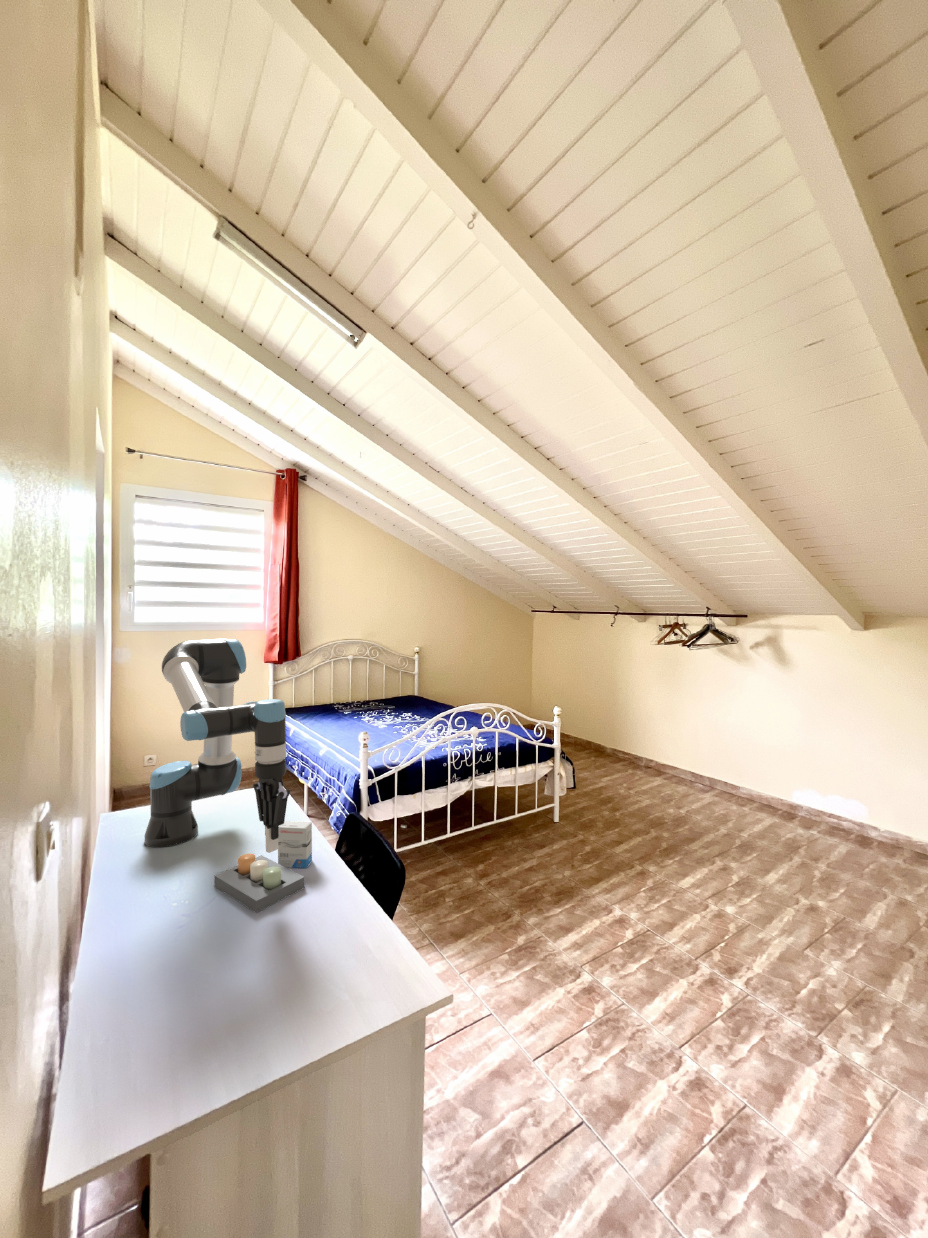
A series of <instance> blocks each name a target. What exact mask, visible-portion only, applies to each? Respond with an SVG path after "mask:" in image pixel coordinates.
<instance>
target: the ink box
mask: <svg viewBox="0 0 928 1238" xmlns="http://www.w3.org/2000/svg"><path fill="white" fill-rule="evenodd" d="M312 827H313V822H312V821H291V820H290V821H289V820H284V824H282V825H279V832H278V833H279V837H278V849H277V863H278V864H280V865H282V866H284V867H286V868H288V869H290V868H291V869H307V868H308V867H309V865H310V864H311V863H312V861H313V834H312V833H313V832H312V831H313V828H312Z"/></svg>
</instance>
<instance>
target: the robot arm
mask: <svg viewBox="0 0 928 1238" xmlns="http://www.w3.org/2000/svg"><path fill="white" fill-rule="evenodd" d="M246 669H247V657H246V652H245V650H244V647H243V644H242V643H241V642H240V641H239V640H238V639H235V638H214V639H213V638H212V639H196V640H195V639H191V640H186V641H182V642H180V643H179V642H178V643H177V644H176V645H174V646H173V647H171V649H170V650H168V651H167V653H166V654H165V655H164V657H163V660H162V663H161V672H162V675H163V677H164V679H165V680H166V682H168V683H170V684H171V686H172V687H173V690H174V692H175V695H176V697H177V700H178V701H179V704H180V706H181V709H182V710H183V713H181V716H180V723H179V724H180V726H179V727H180V732H181V737H182V738H183V740H184V741H187V742H191V741H203V752H202V753H201V754H200V755H198V758H197V760H198V761H197V763H195V764H192V763H191V761H189V760H176V761H172V762H169V763H166V764H163V765H161V766H159V767H157V768H155V769H154V770H153V771H152V772H151V775H150V777H149V778H150V780H149V785H148V786H149V790H150V795H149V796H150V819H149V821H148V824H147V827H146V830H145V833H144V844H145V845H146V846H148V847H151V848H167V847H168V848H169V847H172V846H177V845H181V844H183V843H186V842H188V841H191V840H192V839H194V838H195V837H196V836H197V835H198V833H199V826H198V821H197V820H196V817H195V815H194V812H193V810H192V809H193V808H192V806H193V804H192V802H194V801H199V800H204V799H209V798H213V797H217V796H225V795H227V794H230V793H233V792H235V791H236V790H238V788H239V786H240V784H241V780H242V775H243V772H242V771H243V770H242V766H243V765H242V762H241V759H240V758H239V757H238V756H237V754H236V753H235V752H234V751H233V749H232V746H233V735H239V734H245V733H254V749H255V751H254V755H255V756H254V759H255V761H256V762H255V763H254V768H255V769H254V770H255V771H254V772H255V773H254V774H255V777H256V778H257V779H258V782H255V783H253V785H252V787H253V789H254V792H255V798H256V804H257V805H256V807H257V813H258V819H259V822H262V823H263V826H264V835H265V853H268V854H270V853H272V852H275V851H278V837H279V833H278V832H279V826H280V825H282V824H284V822H285V821H286V811H287V806H288V804H287V803H288V799H289V796H290V794H291V791H290V790H289V789H286V788H284V781H283V777H284V776H285V774H287V760H286V757H287V741H286V732H287V731H286V730H287V729H286V717H287V712H286V704H285V702H284V701H283V700H282V699H280V698H279V699H276V698H270V699H269V698H267V699H261V700H258V701H254V700H253V701H248V702H246V703H243V704H240V705H234V696H235V695H234V693H235V692H234V691H235V685H236V683H238V682H239V681H240V674H243V673H245V672H246Z"/></svg>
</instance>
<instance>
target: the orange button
mask: <svg viewBox="0 0 928 1238" xmlns="http://www.w3.org/2000/svg"><path fill="white" fill-rule="evenodd" d="M255 858H256V854H254V853H245V854H242V855H240V856H239V857H238V858H237V866H238V873H239V874H241V875H243V876H244V875H247V874H249V873H250V865H251V863H253V862H255Z"/></svg>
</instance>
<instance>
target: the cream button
mask: <svg viewBox="0 0 928 1238" xmlns="http://www.w3.org/2000/svg"><path fill="white" fill-rule="evenodd" d="M267 868H268V861H266V860H258V861H255V862H253V863H251V865H250V880H251V881H253V882H255V883H257V882H260V881H262V880H263V871H264V870H265V869H267Z"/></svg>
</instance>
